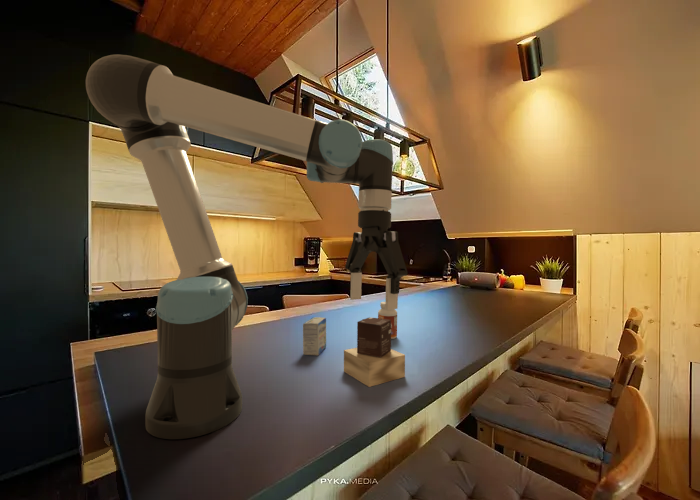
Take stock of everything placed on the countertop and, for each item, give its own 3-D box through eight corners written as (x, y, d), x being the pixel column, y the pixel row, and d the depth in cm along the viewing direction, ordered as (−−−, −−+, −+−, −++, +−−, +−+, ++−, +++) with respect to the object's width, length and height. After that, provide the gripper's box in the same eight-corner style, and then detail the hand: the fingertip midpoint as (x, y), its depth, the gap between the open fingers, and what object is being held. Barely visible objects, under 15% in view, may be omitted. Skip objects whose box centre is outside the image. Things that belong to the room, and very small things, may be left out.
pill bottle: (374, 338, 105) (374, 303, 104) (382, 333, 110) (382, 300, 110) (393, 340, 102) (393, 305, 102) (399, 336, 107) (399, 302, 107)
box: (380, 358, 71) (380, 325, 71) (356, 353, 74) (356, 321, 74) (391, 350, 77) (391, 319, 76) (368, 346, 80) (368, 316, 80)
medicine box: (318, 356, 88) (318, 323, 87) (302, 355, 88) (302, 323, 88) (326, 347, 95) (326, 317, 95) (311, 346, 96) (311, 316, 96)
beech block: (368, 387, 69) (369, 363, 69) (343, 371, 77) (343, 350, 77) (404, 376, 74) (405, 354, 74) (377, 363, 82) (377, 343, 82)
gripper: (426, 207, 66) (423, 312, 67) (357, 215, 87) (355, 294, 88) (398, 204, 62) (395, 315, 63) (333, 213, 83) (331, 296, 84)
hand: (372, 303), depth 75 cm, fingers open, 13 cm apart
